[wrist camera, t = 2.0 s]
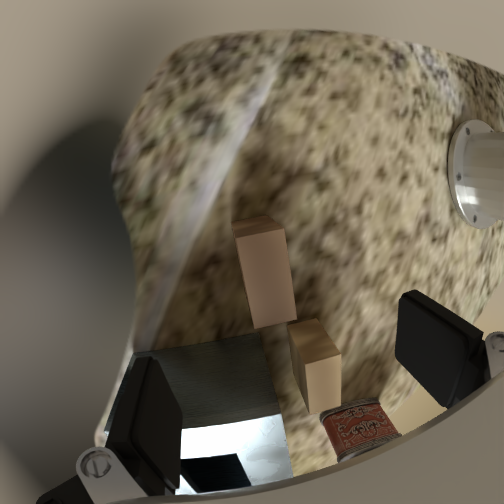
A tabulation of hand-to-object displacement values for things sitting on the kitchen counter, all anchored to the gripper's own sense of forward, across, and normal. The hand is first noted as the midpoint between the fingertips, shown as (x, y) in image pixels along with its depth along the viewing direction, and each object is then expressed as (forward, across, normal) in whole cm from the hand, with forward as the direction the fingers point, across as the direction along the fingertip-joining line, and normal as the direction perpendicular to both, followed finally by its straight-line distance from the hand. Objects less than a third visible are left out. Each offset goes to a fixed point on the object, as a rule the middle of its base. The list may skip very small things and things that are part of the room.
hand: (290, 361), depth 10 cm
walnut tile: (+14, -1, 0) cm, 14 cm away
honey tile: (+14, -4, +10) cm, 17 cm away
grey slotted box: (+14, +6, +15) cm, 21 cm away
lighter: (+14, -9, +22) cm, 27 cm away
